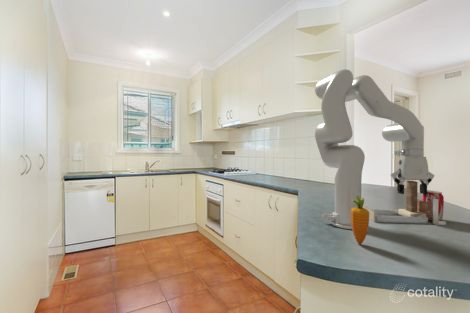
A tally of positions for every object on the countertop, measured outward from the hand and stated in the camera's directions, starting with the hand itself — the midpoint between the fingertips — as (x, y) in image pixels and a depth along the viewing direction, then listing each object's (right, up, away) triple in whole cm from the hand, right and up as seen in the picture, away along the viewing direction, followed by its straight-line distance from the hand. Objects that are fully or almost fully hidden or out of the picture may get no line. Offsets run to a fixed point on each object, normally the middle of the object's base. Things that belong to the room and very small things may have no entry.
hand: (411, 193), depth 97 cm
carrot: (-38, -11, -27) cm, 48 cm away
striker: (+1, -10, 0) cm, 10 cm away
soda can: (+8, -11, -1) cm, 14 cm away
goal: (+6, -11, 0) cm, 13 cm away
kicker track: (-8, -11, +1) cm, 14 cm away
